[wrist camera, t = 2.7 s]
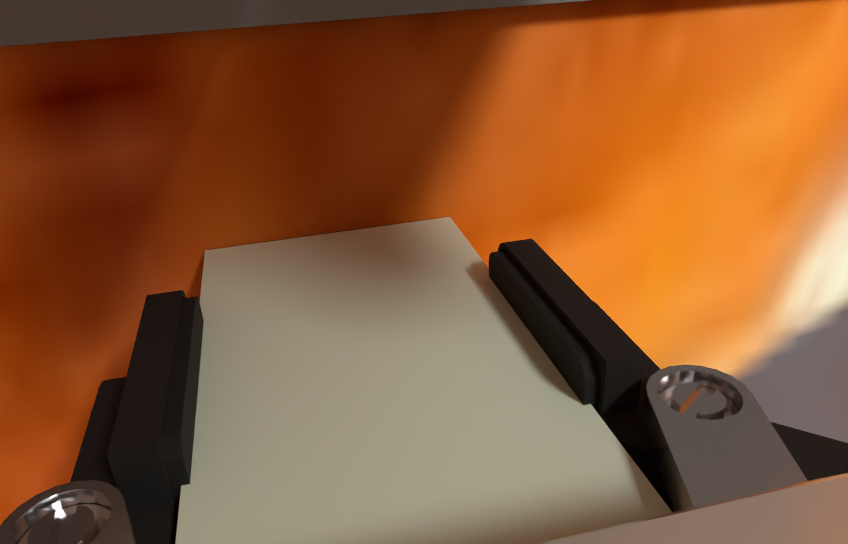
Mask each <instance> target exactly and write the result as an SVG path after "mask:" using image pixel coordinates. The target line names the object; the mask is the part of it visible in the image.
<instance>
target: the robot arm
mask: <svg viewBox="0 0 848 544" xmlns="http://www.w3.org/2000/svg"><path fill="white" fill-rule="evenodd" d="M489 277H490V279H491V280H492V281H493V283H494V284H495V286H496V287H497V288H498V290H499V291H500V292H501V294H502V295H503V296H504V298H505V299H506V300H507V302H508V303H509V305H510V306H511V307H512V309H513V310H514V311H515V313H516V314H517V315H518V317H519V318H520V320H521V321H522V322H523V324H524V325H525V326H526V328H527V329H528V330H529V332H530V333H531V334H532V336H533V337H534V339H535V340H536V341H537V343H538V344H539V345H540V347H541V348H542V349H543V351H544V352H545V354H546V355H547V356H548V358H549V359H550V360H551V362H552V363H553V364H554V366H555V367H556V368H557V370H558V371H559V373H560V374H561V375H562V377H563V378H564V379H565V381H566V382H567V383H568V385H569V386H570V388H571V389H572V390H573V392H574V393H575V394H576V396H577V397H578V398H579V400H580V401H581V403H582V404H583V405H588V404H591V405H592V406H593V408H594V409H595V410H596V412H597V413H598V414H599V416H600V417H601V418H602V420H603V421H604V422H605V424H606V425H607V426H608V428H609V429H610V430H611V432H612V433H613V434H614V435H615V437H616V438H617V439H618V441H619V442H620V443H621V445H622V446H623V447H624V449H625V450H626V451H627V453H628V454H629V455H630V457H631V458H632V459H633V461H634V462H635V463H636V465H637V466H638V467H639V469H640V470H641V471H642V473H643V474H644V475H645V477H646V478H647V479H648V481H649V482H650V483H651V485H652V486H653V487H654V489H655V490H656V491H657V493H658V494H659V495H660V497H661V498H662V499H663V501H664V502H665V503H666V504H667V506H668V507H669V508H670V510H671V511H672V513H668V514H663V515H659V516H655V517H650V518H646V519H642V520H638V521H633V522H629V523H625V524H620V525H616V526H612V527H607V528H603V529H599V530H594V531H590V532H586V533H581V534H577V535H573V536H569V537H565V538H560V539H556V540H552V541H548V542H543V543H539V544H848V443H845V442H841V441H838V440H834V439H830V438H827V437H823V436H820V435H816V434H812V433H809V432H805V431H801V430H798V429H794V428H791V427H787V426H784V425H780V424H776V423H772V422H770V421H769V419H768V418H767V416H766V415H765V413H764V411H763V410H762V408H761V407H760V405H759V404H758V402H757V400H756V399H755V398H754V396H753V394H752V393H751V392H750V391H749V389H748V388H747V387H746V386H745V385H744V384H743V383H741V382H740V381H738V380H737V379H735V378H734V377H732V376H730V375H728V374H726V373H723V372H721V371H718V370H716V369H711V368H707V367H703V366H694V365H678V366H670V367H667V368H664V369H660V368H659V367H658V366H657V365H656V364H655V363H654V362H653V361H652V360H651V359H650V358H649V357H648V356H647V355H646V354H645V353H644V352H643V351H642V350H641V349H640V348H639V347H638V346H637V345H636V344H635V343H634V342H633V341H632V340H631V339H630V338H629V337H628V336H627V335H626V333H625V332H624V331H623V330H622V329H621V328H620V327H619V326H618V325H617V324H616V323H615V322H614V321H613V320H612V319H611V318H610V317H609V316H608V315H607V314H606V313H605V312H604V311H603V310H602V309H601V308H600V307H599V306H598V305H597V304H596V303H595V302H594V301H592V300H591V299H590V298H589V297H588V296H587V295H586V294H585V293H584V292H583V291H582V290H581V289H580V288H579V287H578V286H577V285H576V284H575V283H574V282H573V281H572V279H571V278H570V277H569V276H568V275H567V274H566V273H565V272H564V271H563V270H562V269H561V268H560V267H559V266H558V265H557V264H556V263H555V262H554V261H553V260H552V259H551V258H550V257H549V256H548V255H547V254H546V253H545V252H544V251H543V250H542V249H541V248H540V246H539V245H538V244H537V243H536V242H535V241H534V240H532V239H526V240H519V241H512V242H505V243H501V244H500V245H499V248H498V252H492V253H491V254H490V256H489ZM203 324H204V320H203V316H202V311H201V307H200V303H199V300H198V297H191V298H186V296H185V293H184V291H183V290H180V291H173V292H166V293H159V294H153V295H147V297H146V301H145V305H144V309H143V313H142V317H141V321H140V325H139V329H138V333H137V337H136V341H135V345H134V349H133V353H132V357H131V361H130V365H129V369H128V373H127V377H122V378H116V379H110V380H105V381H103V382H102V383H101V385H100V387H99V390H98V393H97V396H96V399H95V403H94V406H93V409H92V413H91V416H90V419H89V423H88V426H87V429H86V432H85V436H84V439H83V442H82V446H81V449H80V452H79V455H78V459H77V462H76V465H75V469H74V472H73V475H72V478H71V482H70V483H67V484H63V485H59V486H55V487H53V488H51V489H49V490H46V491H44V492H42V493H40V494H38V495H36V496H34V497H33V498H31V499H30V500H28V501H26V502H25V503H23V504H22V505H20V506H19V507H18V508H17V509H16V510H15V511H13V512H12V513H11V514H10V515H9V516H8V517H7V518H6V519H5V520H4V521H3V523H2V524H1V526H0V544H175V542H176V532H177V522H178V512H179V502H180V492H181V486H182V485H187V484H190V478H191V466H192V454H193V442H194V430H195V419H196V407H197V395H198V383H199V371H200V360H201V348H202V336H203Z"/></svg>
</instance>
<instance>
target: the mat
mask: <svg viewBox="0 0 848 544" xmlns="http://www.w3.org/2000/svg"><path fill="white" fill-rule="evenodd" d="M576 1H589V0H0V46H13V45H26V44H38V43H51V42H64V41H77V40H90V39H102V38H115V37H128V36H141V35H154V34H166V33H179V32H192V31H205V30H218V29H230V28H243V27H256V26H269V25H282V24H294V23H307V22H320V21H333V20H346V19H358V18H371V17H384V16H397V15H410V14H422V13H435V12H448V11H461V10H474V9H486V8H499V7H512V6H525V5H538V4H550V3H563V2H576Z"/></svg>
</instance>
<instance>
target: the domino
mask: <svg viewBox="0 0 848 544" xmlns="http://www.w3.org/2000/svg"><path fill="white" fill-rule="evenodd" d="M200 307H201V311H202V316H203V320H204V324H203V336H202V348H201V360H200V371H199V383H198V395H197V407H196V419H195V430H194V442H193V454H192V466H191V478H190V484H187V485H182V486H181V492H180V502H179V512H178V522H177V532H176V542H175V544H539V543H543V542H548V541H552V540H556V539H560V538H565V537H569V536H573V535H577V534H581V533H586V532H590V531H594V530H599V529H603V528H607V527H612V526H616V525H620V524H625V523H629V522H633V521H638V520H642V519H646V518H650V517H655V516H659V515H663V514H668V513H672V511H671V510H670V508H669V507H668V506H667V504H666V503H665V502H664V501H663V499H662V498H661V497H660V495H659V494H658V493H657V491H656V490H655V489H654V487H653V486H652V485H651V483H650V482H649V481H648V479H647V478H646V477H645V475H644V474H643V473H642V471H641V470H640V469H639V467H638V466H637V465H636V463H635V462H634V461H633V459H632V458H631V457H630V455H629V454H628V453H627V451H626V450H625V449H624V447H623V446H622V445H621V443H620V442H619V441H618V439H617V438H616V437H615V435H614V434H613V433H612V432H611V430H610V429H609V428H608V426H607V425H606V424H605V422H604V421H603V420H602V418H601V417H600V416H599V414H598V413H597V412H596V410H595V409H594V408H593V406H592V405H591V404H588V405H583V404H582V403H581V401H580V400H579V398H578V397H577V396H576V394H575V393H574V392H573V390H572V389H571V388H570V386H569V385H568V383H567V382H566V381H565V379H564V378H563V377H562V375H561V374H560V373H559V371H558V370H557V368H556V367H555V366H554V364H553V363H552V362H551V360H550V359H549V358H548V356H547V355H546V354H545V352H544V351H543V349H542V348H541V347H540V345H539V344H538V343H537V341H536V340H535V339H534V337H533V336H532V334H531V333H530V332H529V330H528V329H527V328H526V326H525V325H524V324H523V322H522V321H521V320H520V318H519V317H518V315H517V314H516V313H515V311H514V310H513V309H512V307H511V306H510V305H509V303H508V302H507V300H506V299H505V298H504V296H503V295H502V294H501V292H500V291H499V290H498V288H497V287H496V286H495V284H494V283H493V281H492V280H491V279H490V277H489V268H488V267H487V266H486V264H485V263H484V262H483V260H482V259H481V258H480V256H479V255H478V254H477V252H476V251H475V250H474V248H473V247H472V246H471V244H470V243H469V242H468V240H467V239H466V238H465V236H464V235H463V234H462V232H461V231H460V230H459V228H458V227H457V226H456V225H455V223H454V222H453V221H452V219H451V218H450V217H444V218H437V219H430V220H422V221H415V222H408V223H401V224H393V225H386V226H379V227H371V228H364V229H357V230H350V231H342V232H335V233H328V234H321V235H313V236H306V237H299V238H291V239H284V240H277V241H270V242H262V243H255V244H248V245H240V246H233V247H226V248H219V249H211V250H205V254H204V264H203V274H202V284H201V294H200Z"/></svg>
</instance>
